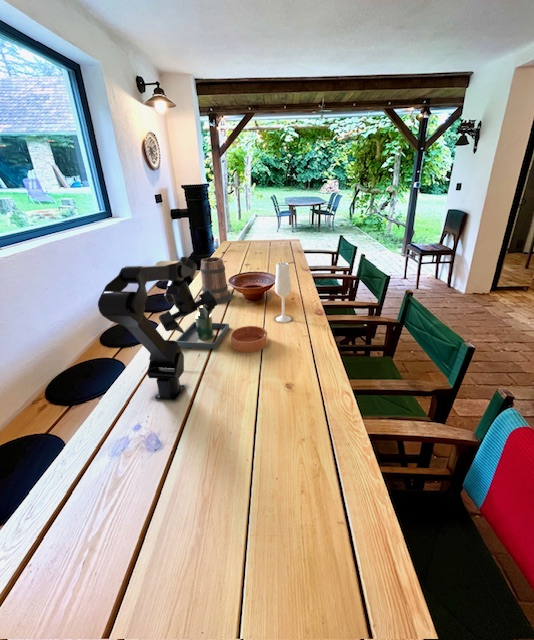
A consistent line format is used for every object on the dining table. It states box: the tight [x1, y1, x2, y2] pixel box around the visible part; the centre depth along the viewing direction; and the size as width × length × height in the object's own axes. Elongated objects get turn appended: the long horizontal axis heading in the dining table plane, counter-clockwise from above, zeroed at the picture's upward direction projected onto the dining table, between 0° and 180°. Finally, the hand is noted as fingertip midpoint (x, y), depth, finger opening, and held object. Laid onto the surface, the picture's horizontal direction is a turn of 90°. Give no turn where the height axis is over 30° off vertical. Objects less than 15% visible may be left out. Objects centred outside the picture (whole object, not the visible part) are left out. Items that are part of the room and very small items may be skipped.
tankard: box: [199, 256, 233, 305], centre depth 163 cm, size 24×17×20 cm
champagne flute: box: [274, 262, 292, 323], centre depth 133 cm, size 7×7×24 cm
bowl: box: [229, 325, 269, 353], centre depth 117 cm, size 13×13×4 cm
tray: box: [175, 321, 230, 350], centre depth 124 cm, size 17×15×2 cm
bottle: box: [194, 306, 215, 342], centre depth 121 cm, size 6×6×13 cm
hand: (195, 326), depth 111 cm, fingers open, 9 cm apart
